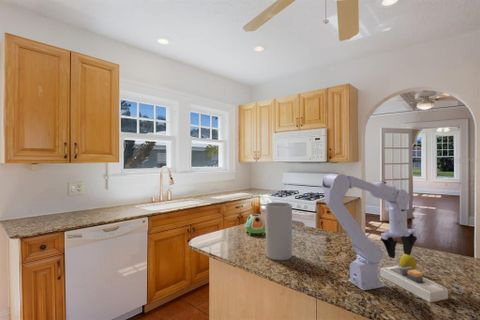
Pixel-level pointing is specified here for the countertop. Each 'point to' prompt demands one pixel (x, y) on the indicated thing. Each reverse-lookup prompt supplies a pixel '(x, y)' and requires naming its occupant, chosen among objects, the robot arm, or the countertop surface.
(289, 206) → the cylinder vase
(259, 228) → the turtle holder
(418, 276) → the orange and grey block
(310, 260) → the countertop surface
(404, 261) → the lemon
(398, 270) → the shutter
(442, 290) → the socket board
